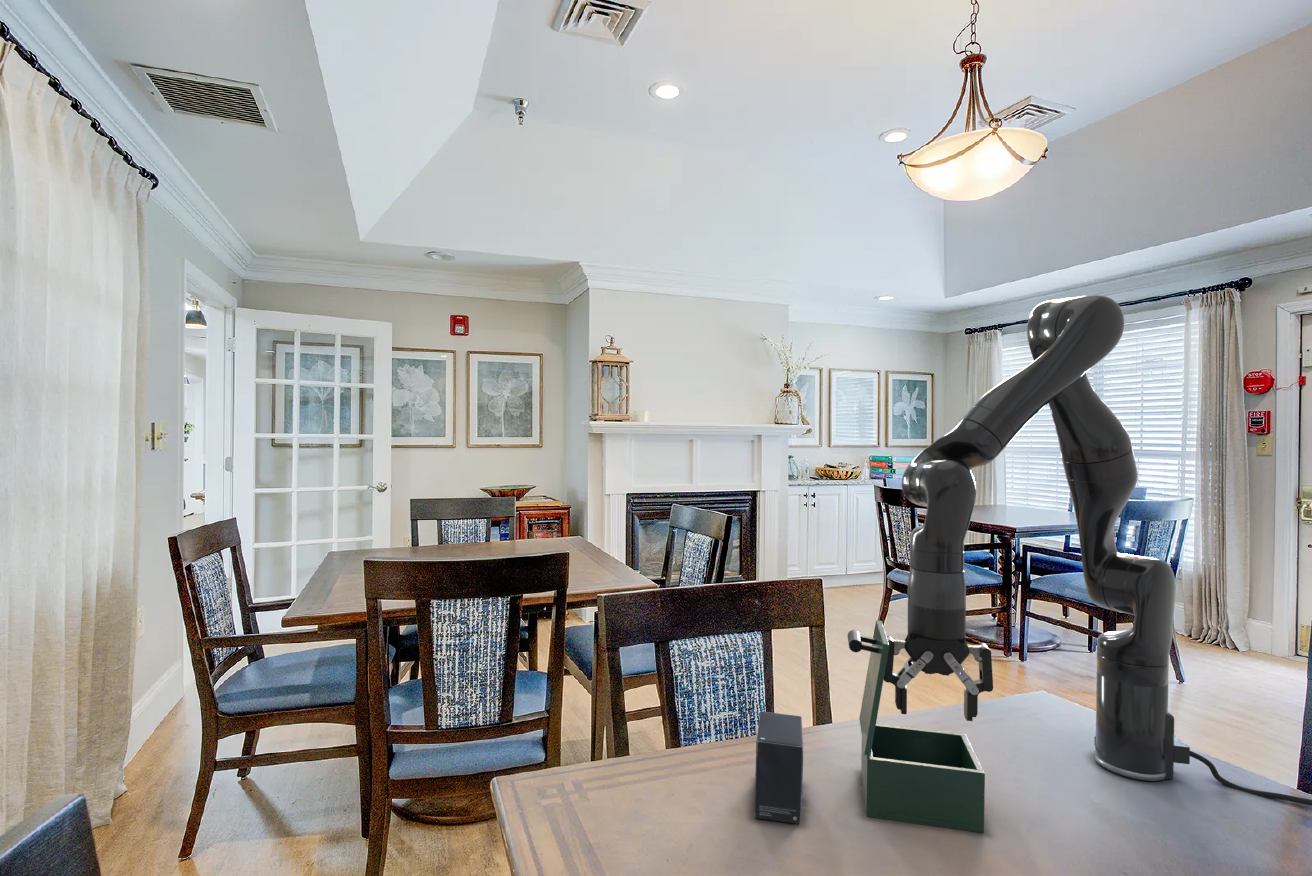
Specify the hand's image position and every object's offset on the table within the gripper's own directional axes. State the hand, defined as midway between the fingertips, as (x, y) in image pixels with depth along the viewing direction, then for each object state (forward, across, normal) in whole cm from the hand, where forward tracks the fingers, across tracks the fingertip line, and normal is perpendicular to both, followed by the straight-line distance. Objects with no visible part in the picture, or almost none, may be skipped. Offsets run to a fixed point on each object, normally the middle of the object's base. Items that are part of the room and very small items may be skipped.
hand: (935, 715), depth 94 cm
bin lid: (-4, -8, 0) cm, 9 cm away
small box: (+12, -21, -6) cm, 25 cm away
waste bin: (+12, -2, 0) cm, 12 cm away
